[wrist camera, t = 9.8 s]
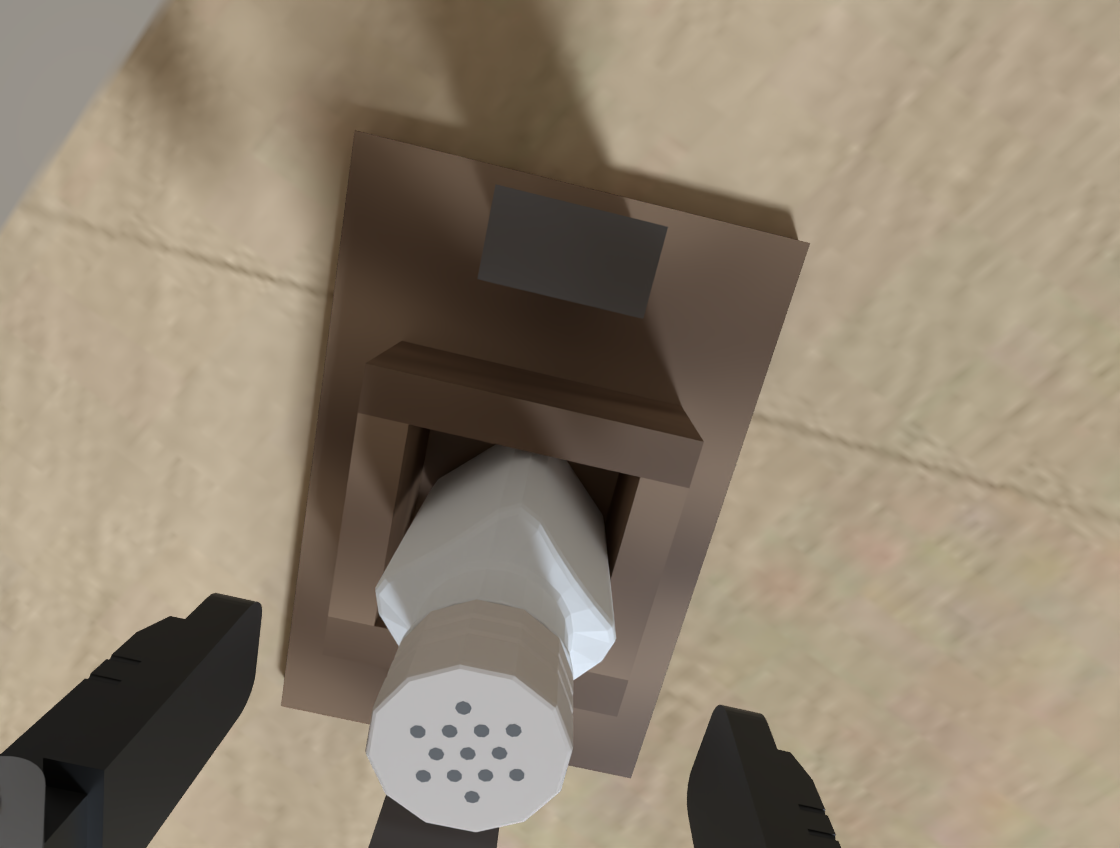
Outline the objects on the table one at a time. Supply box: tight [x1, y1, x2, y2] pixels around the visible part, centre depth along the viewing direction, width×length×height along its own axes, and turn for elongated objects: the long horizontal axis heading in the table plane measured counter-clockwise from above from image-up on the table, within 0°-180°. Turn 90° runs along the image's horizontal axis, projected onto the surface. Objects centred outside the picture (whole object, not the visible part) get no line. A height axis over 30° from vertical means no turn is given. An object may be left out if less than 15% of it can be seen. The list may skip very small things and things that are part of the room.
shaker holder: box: [281, 130, 810, 848], centre depth 16 cm, size 18×12×7 cm, turn 167°
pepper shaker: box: [365, 444, 616, 832], centre depth 14 cm, size 4×4×10 cm
